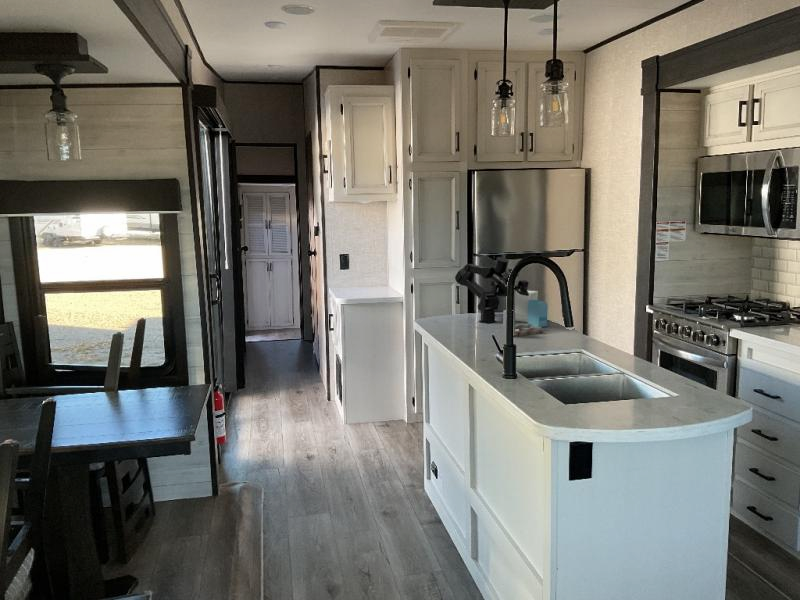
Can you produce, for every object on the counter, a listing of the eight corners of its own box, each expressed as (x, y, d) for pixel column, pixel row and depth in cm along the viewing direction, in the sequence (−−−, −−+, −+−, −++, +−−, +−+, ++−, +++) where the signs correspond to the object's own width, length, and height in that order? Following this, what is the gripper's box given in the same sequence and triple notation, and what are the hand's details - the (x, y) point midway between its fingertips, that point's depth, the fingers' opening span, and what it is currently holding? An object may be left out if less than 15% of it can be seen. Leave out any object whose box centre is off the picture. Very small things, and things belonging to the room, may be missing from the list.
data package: (547, 327, 320) (547, 302, 318) (538, 327, 318) (539, 303, 317) (535, 323, 331) (536, 299, 329) (527, 323, 330) (527, 299, 328)
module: (506, 337, 297) (506, 311, 295) (502, 334, 302) (503, 310, 300) (514, 336, 297) (515, 311, 296) (511, 334, 302) (511, 309, 300)
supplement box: (530, 322, 332) (531, 292, 330) (514, 321, 337) (514, 291, 335) (537, 320, 340) (538, 290, 337) (520, 318, 344) (521, 289, 342)
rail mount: (519, 335, 300) (519, 329, 299) (506, 331, 308) (506, 325, 308) (542, 333, 306) (542, 327, 305) (529, 329, 314) (529, 323, 314)
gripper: (489, 266, 313) (507, 281, 301) (521, 265, 321) (540, 278, 309) (484, 288, 318) (502, 303, 305) (516, 286, 326) (535, 300, 314)
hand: (520, 295), depth 308 cm, fingers open, 9 cm apart
